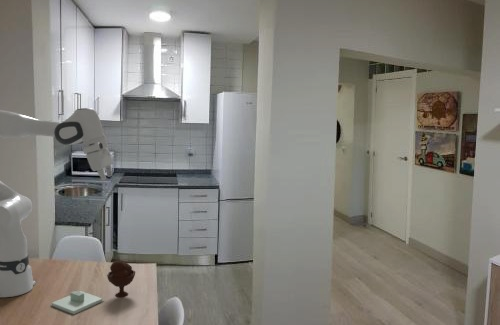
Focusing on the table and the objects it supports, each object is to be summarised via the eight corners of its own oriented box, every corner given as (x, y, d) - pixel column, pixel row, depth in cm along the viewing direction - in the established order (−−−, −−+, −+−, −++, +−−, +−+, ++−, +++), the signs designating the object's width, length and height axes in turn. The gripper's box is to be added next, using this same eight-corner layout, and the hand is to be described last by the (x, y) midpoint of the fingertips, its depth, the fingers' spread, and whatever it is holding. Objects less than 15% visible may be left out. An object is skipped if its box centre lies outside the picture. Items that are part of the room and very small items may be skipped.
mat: (49, 306, 160) (49, 305, 160) (81, 294, 172) (81, 293, 172) (73, 316, 153) (73, 315, 152) (104, 302, 165) (104, 301, 164)
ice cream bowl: (127, 302, 165) (127, 266, 163) (102, 299, 167) (101, 263, 165) (140, 291, 175) (140, 257, 173) (115, 289, 177) (115, 255, 176)
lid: (51, 305, 160) (51, 295, 159) (80, 293, 171) (80, 283, 170) (73, 314, 153) (73, 303, 153) (102, 301, 164) (102, 291, 164)
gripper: (96, 146, 181) (106, 176, 183) (81, 150, 161) (92, 184, 162) (110, 142, 181) (120, 172, 183) (97, 145, 161) (108, 179, 163)
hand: (107, 178), depth 172 cm, fingers open, 8 cm apart
